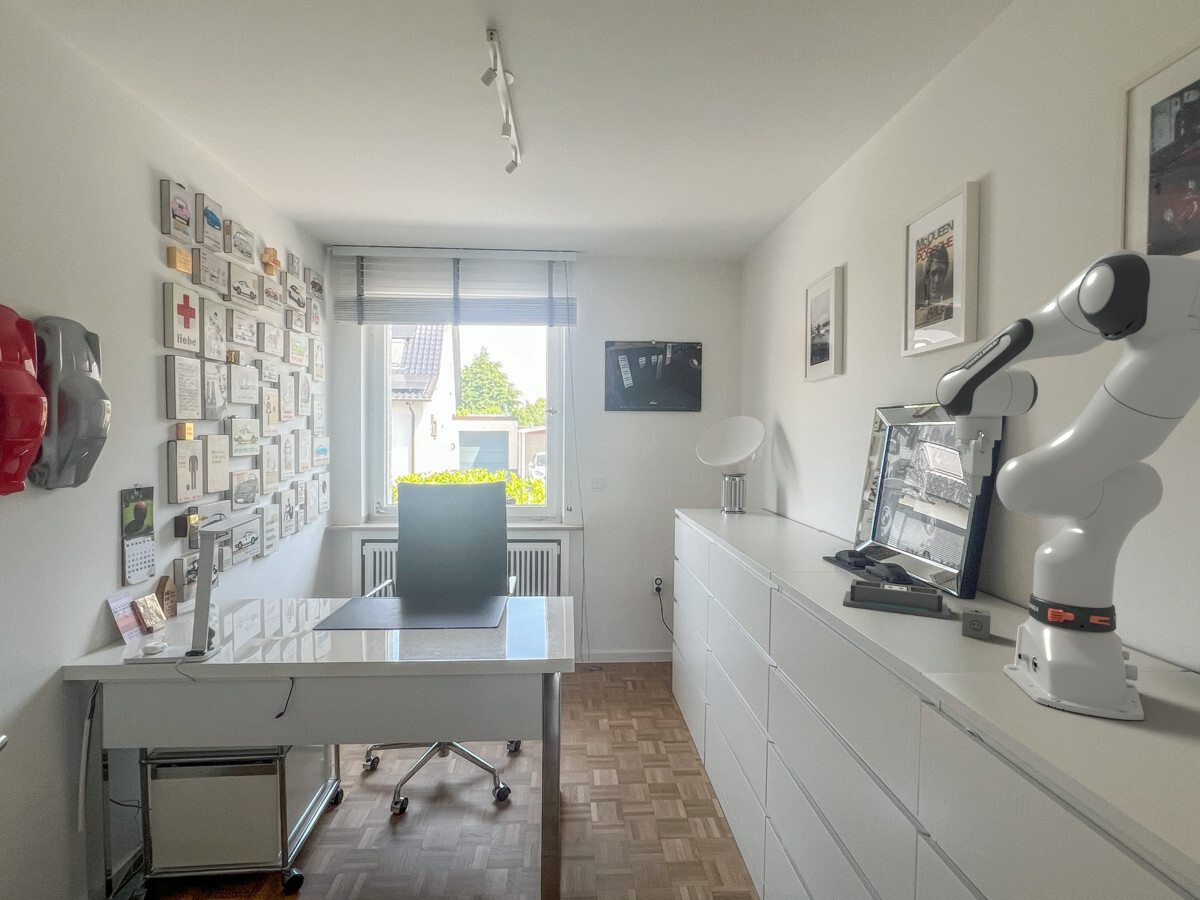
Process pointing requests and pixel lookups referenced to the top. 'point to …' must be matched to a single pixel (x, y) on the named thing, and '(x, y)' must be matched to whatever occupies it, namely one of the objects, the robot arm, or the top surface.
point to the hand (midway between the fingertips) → (974, 494)
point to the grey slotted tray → (897, 599)
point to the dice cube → (976, 623)
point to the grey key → (895, 587)
